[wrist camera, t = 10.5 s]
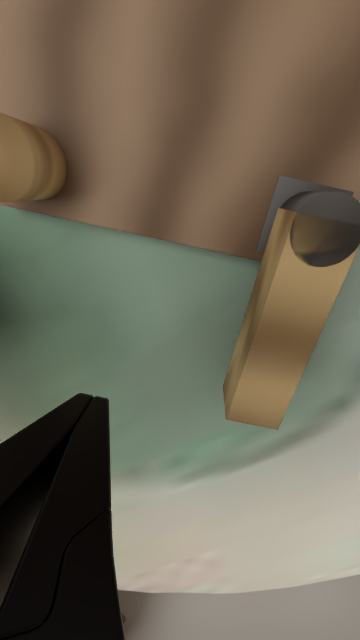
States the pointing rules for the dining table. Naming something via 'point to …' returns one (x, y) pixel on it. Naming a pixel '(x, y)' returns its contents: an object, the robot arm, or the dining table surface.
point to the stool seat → (178, 113)
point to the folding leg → (290, 303)
